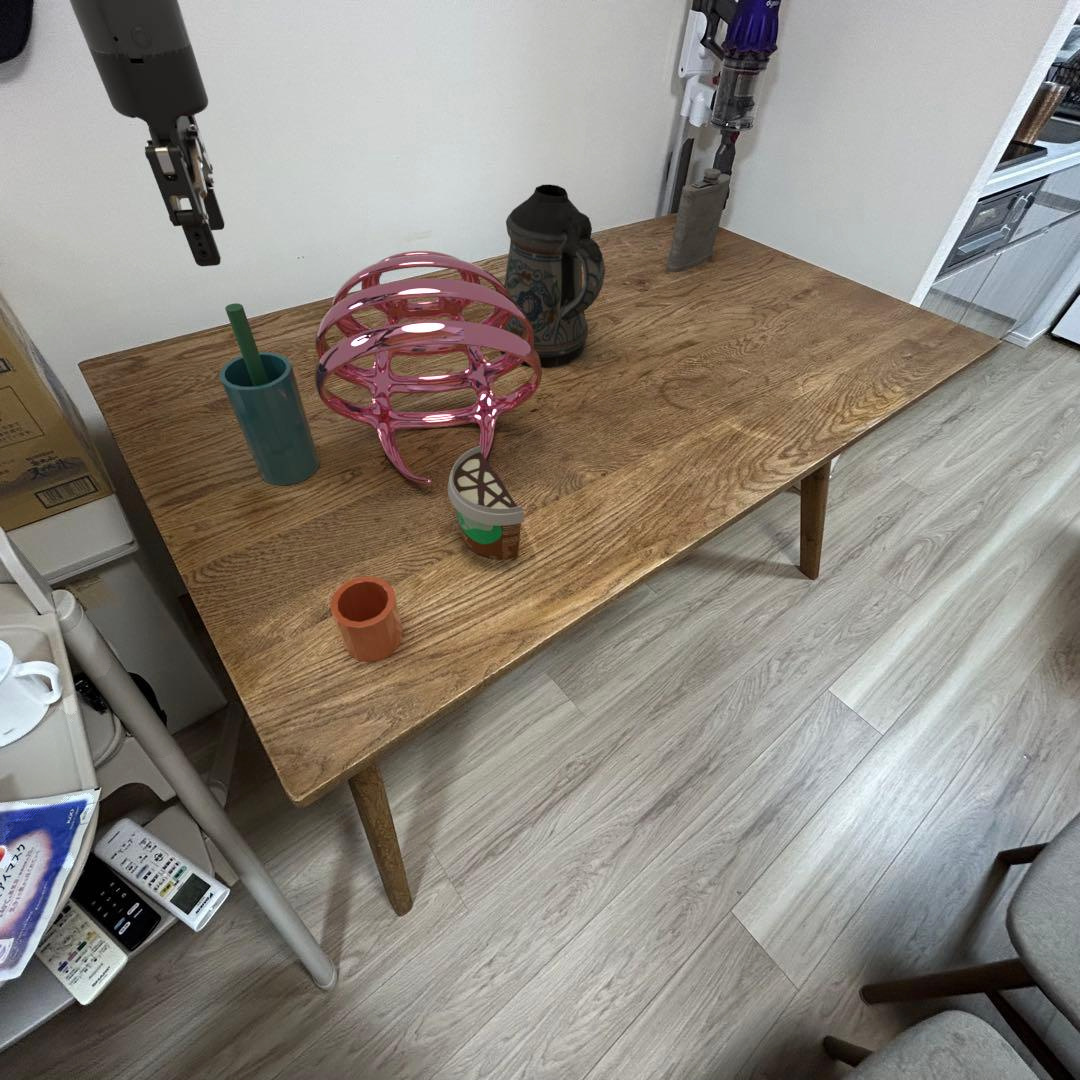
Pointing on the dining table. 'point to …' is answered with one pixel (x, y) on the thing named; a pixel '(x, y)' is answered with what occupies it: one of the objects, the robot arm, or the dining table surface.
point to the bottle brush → (246, 344)
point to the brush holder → (367, 618)
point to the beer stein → (552, 273)
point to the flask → (698, 220)
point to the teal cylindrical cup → (272, 419)
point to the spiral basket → (424, 348)
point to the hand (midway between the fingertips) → (212, 245)
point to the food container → (484, 508)
